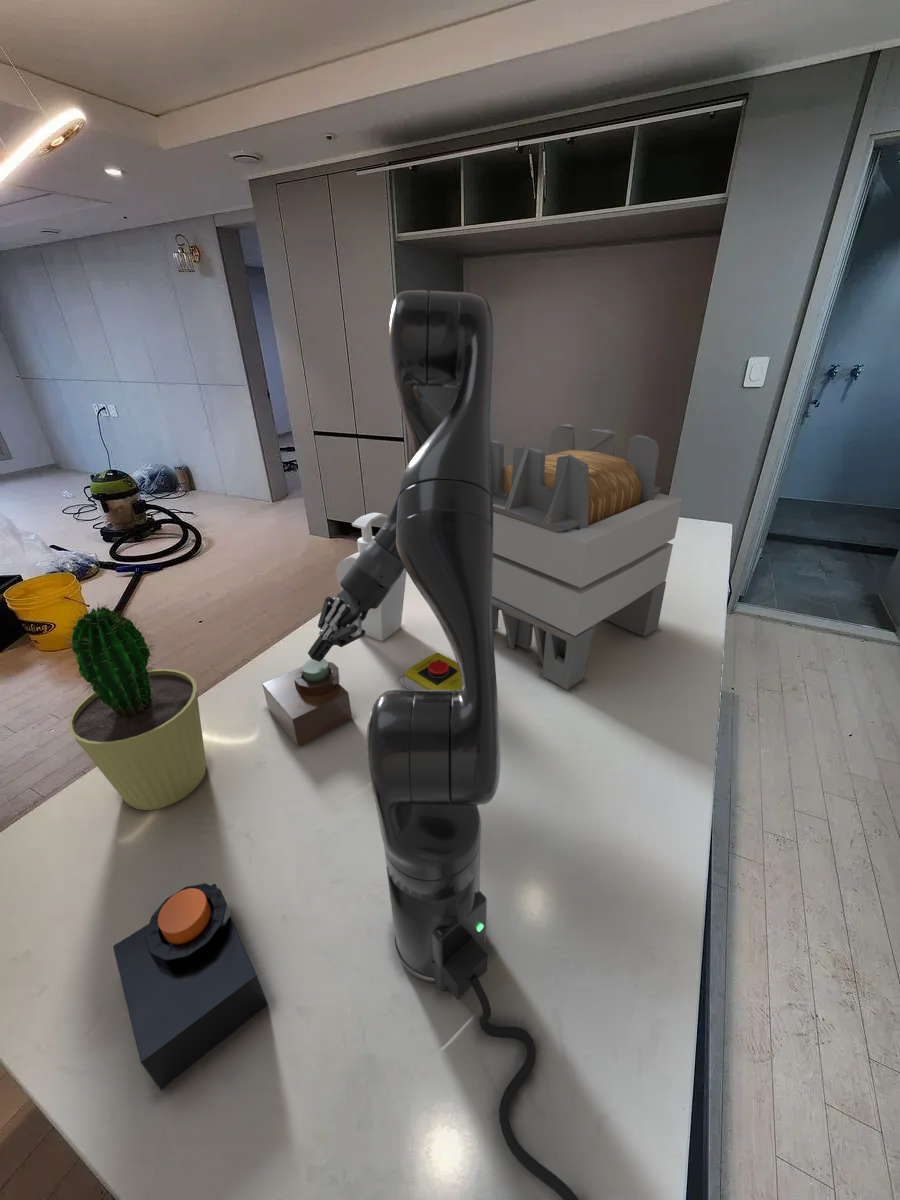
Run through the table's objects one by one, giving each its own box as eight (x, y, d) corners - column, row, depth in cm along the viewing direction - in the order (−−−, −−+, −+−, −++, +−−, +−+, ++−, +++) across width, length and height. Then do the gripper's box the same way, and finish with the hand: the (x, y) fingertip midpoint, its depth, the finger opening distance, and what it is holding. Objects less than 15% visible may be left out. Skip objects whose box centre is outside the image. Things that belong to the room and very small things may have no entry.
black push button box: (269, 1003, 51) (254, 964, 47) (160, 1090, 45) (134, 1053, 42) (227, 910, 59) (211, 870, 56) (130, 974, 54) (106, 934, 50)
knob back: (334, 676, 86) (333, 666, 85) (310, 686, 84) (309, 676, 83) (322, 664, 89) (320, 654, 88) (299, 674, 87) (297, 664, 86)
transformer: (445, 622, 115) (441, 437, 95) (539, 578, 133) (551, 415, 114) (568, 693, 92) (596, 470, 73) (660, 628, 111) (701, 436, 91)
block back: (358, 715, 88) (353, 681, 85) (298, 746, 82) (290, 710, 78) (324, 683, 96) (319, 650, 93) (268, 709, 90) (259, 675, 86)
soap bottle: (415, 624, 114) (408, 514, 102) (386, 645, 107) (375, 530, 94) (373, 610, 120) (362, 504, 108) (343, 629, 113) (327, 518, 100)
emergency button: (431, 642, 100) (490, 674, 90) (432, 661, 102) (490, 693, 93) (395, 663, 94) (455, 699, 85) (397, 682, 96) (455, 719, 87)
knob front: (217, 923, 51) (212, 912, 50) (170, 955, 49) (164, 943, 48) (203, 891, 54) (198, 879, 53) (158, 919, 52) (152, 907, 51)
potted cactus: (228, 793, 74) (169, 616, 59) (106, 841, 67) (6, 656, 53) (213, 729, 86) (161, 568, 71) (108, 765, 79) (27, 596, 65)
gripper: (342, 550, 87) (283, 631, 87) (374, 578, 77) (308, 670, 77) (373, 570, 92) (317, 647, 92) (407, 599, 82) (345, 686, 82)
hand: (313, 658), depth 85 cm, fingers closed
